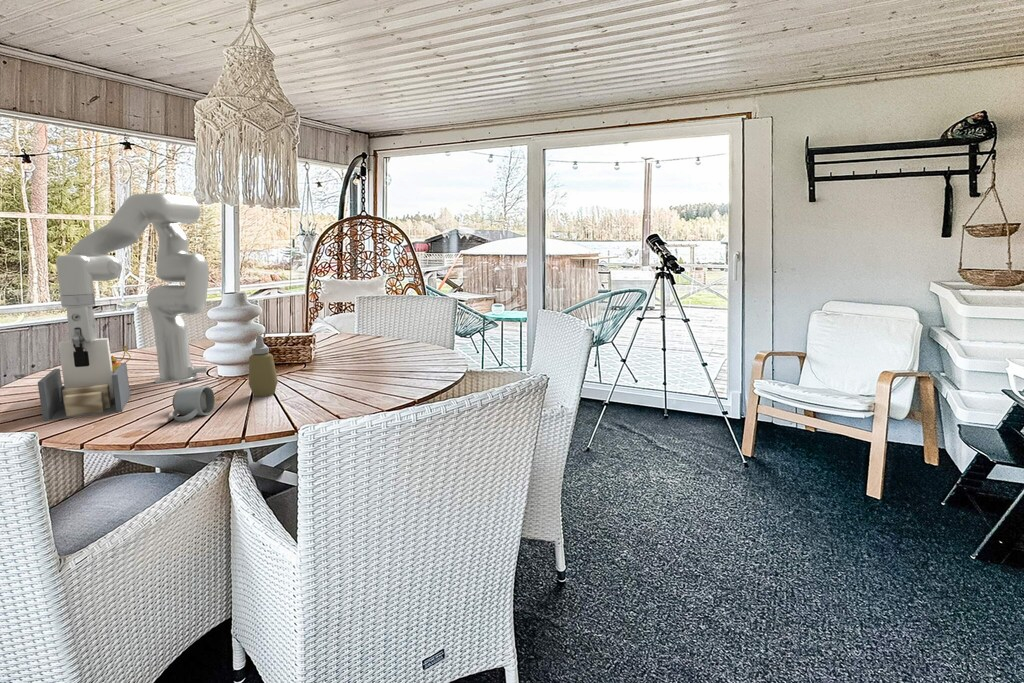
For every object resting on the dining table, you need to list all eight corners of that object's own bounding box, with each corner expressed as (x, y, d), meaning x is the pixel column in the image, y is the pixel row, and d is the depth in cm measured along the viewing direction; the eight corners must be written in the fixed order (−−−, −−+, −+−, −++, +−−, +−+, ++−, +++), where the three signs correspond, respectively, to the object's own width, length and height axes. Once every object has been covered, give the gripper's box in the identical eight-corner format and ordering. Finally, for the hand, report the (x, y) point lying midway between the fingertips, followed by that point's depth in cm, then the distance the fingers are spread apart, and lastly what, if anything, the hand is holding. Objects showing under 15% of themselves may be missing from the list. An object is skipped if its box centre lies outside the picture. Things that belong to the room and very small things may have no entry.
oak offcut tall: (111, 405, 169) (108, 384, 168) (109, 407, 166) (107, 386, 165) (67, 410, 164) (64, 388, 163) (65, 412, 162) (62, 390, 161)
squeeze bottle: (284, 392, 186) (279, 333, 183) (265, 398, 178) (260, 338, 175) (262, 390, 189) (257, 332, 186) (243, 397, 181) (238, 337, 178)
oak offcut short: (104, 409, 165) (102, 391, 164) (103, 412, 162) (100, 393, 161) (69, 413, 161) (66, 394, 160) (66, 416, 158) (63, 397, 158)
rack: (131, 401, 178) (126, 362, 176) (122, 417, 162) (117, 374, 160) (60, 409, 171) (54, 368, 169) (44, 426, 155) (37, 382, 153)
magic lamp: (89, 374, 215) (85, 343, 214) (139, 374, 215) (135, 343, 213) (75, 379, 209) (70, 347, 207) (126, 378, 208) (122, 346, 206)
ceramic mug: (187, 410, 168) (184, 383, 166) (217, 410, 167) (213, 383, 166) (164, 422, 157) (160, 394, 156) (195, 422, 157) (192, 393, 155)
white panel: (116, 400, 174) (108, 337, 171) (115, 402, 171) (106, 339, 168) (69, 405, 169) (60, 341, 166) (67, 408, 166) (58, 342, 163)
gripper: (88, 302, 159) (96, 367, 161) (100, 298, 174) (107, 357, 177) (53, 304, 156) (62, 370, 158) (68, 299, 171) (75, 359, 174)
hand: (85, 363), depth 168 cm, fingers open, 9 cm apart
